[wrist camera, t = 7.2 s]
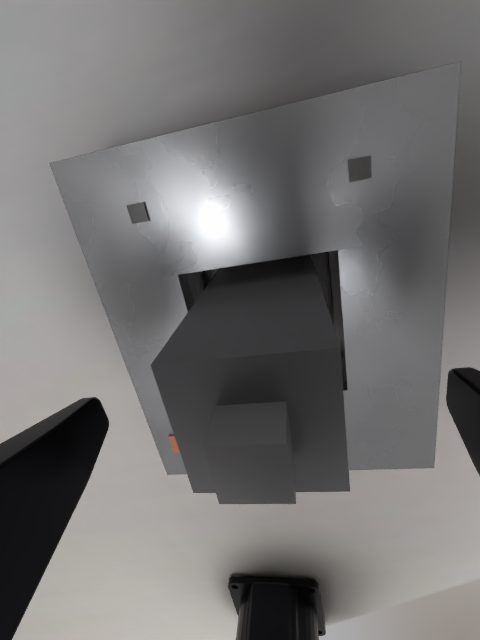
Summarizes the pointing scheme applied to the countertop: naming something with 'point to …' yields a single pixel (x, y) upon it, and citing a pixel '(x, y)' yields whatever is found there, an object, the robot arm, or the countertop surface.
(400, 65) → the countertop surface
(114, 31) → the countertop surface
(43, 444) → the robot arm
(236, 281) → the plug
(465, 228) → the countertop surface
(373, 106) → the socket plate
